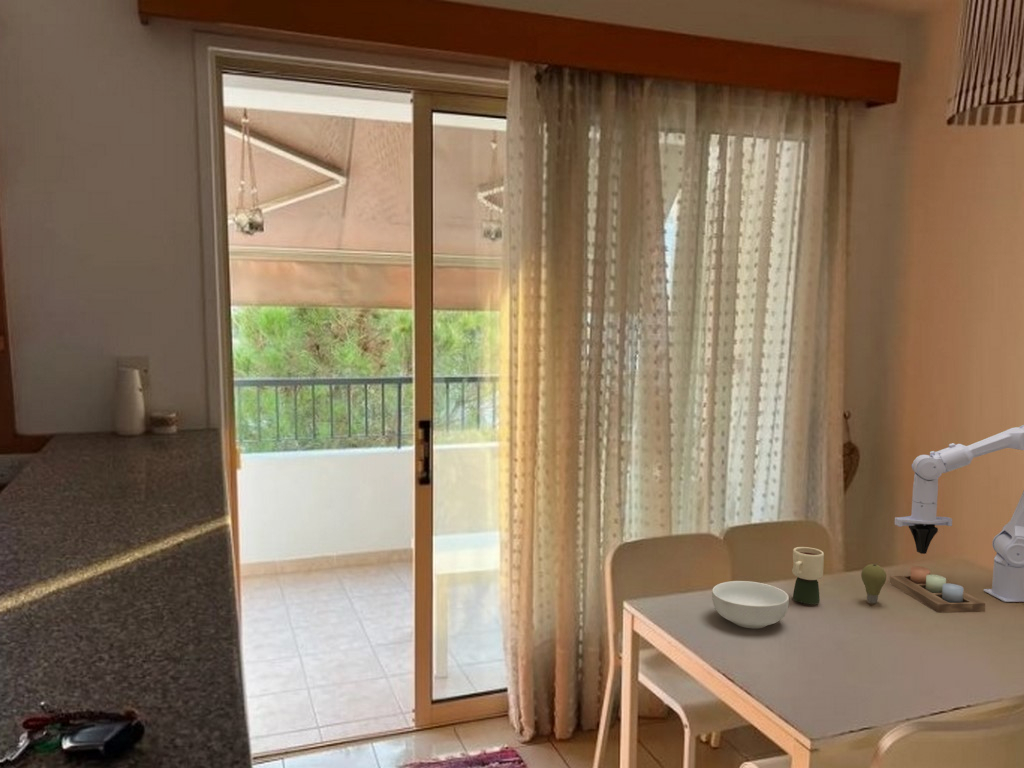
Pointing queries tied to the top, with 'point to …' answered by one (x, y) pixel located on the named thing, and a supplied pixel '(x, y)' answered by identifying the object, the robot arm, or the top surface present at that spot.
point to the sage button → (935, 583)
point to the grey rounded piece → (952, 593)
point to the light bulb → (873, 581)
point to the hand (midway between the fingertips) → (921, 552)
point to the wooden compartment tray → (936, 597)
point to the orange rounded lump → (919, 574)
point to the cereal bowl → (750, 603)
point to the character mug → (807, 574)
